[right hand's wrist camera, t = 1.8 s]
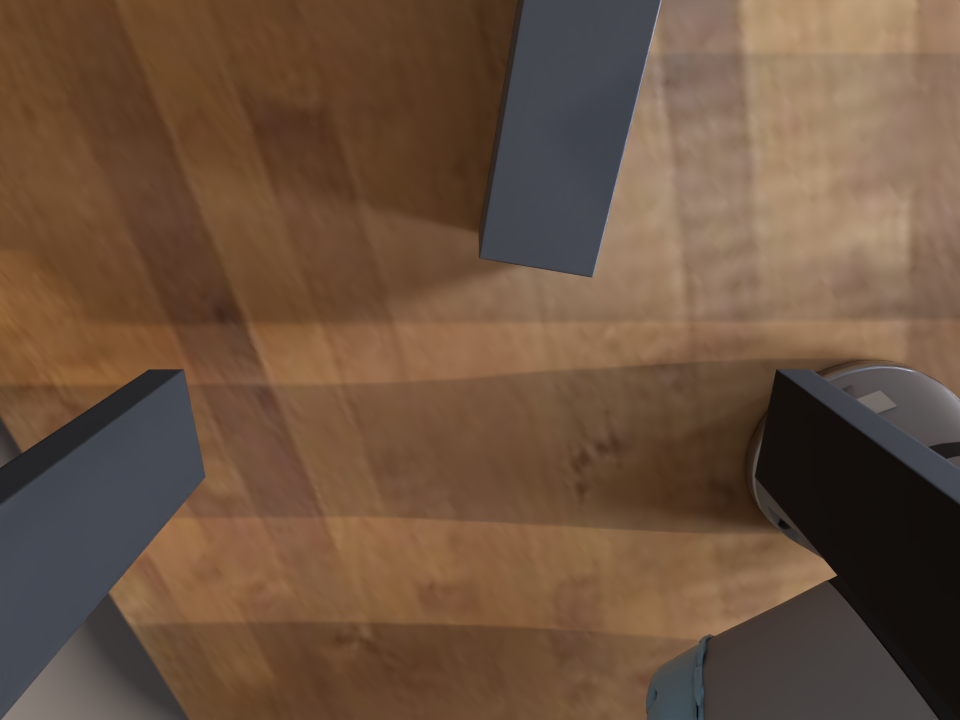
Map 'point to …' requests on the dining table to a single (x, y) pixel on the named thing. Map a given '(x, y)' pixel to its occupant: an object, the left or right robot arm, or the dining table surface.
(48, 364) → the dining table surface
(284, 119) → the dining table surface
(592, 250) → the beam
